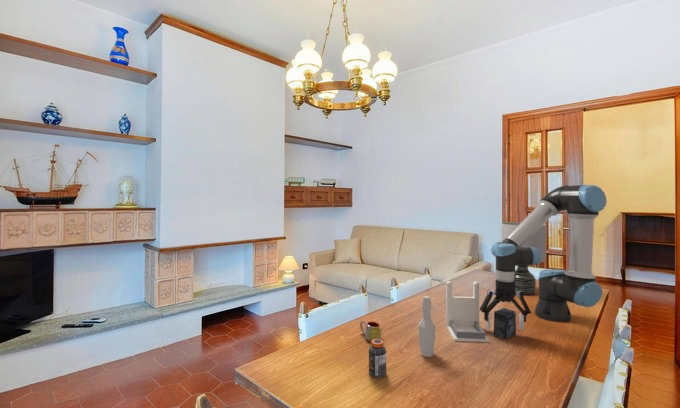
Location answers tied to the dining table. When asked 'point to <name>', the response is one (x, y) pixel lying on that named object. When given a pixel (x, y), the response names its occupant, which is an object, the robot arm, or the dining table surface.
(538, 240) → the lamp
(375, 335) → the mug
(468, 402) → the dining table surface
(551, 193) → the robot arm
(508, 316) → the box
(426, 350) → the low poly bottle
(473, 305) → the white l-bracket
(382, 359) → the pill bottle
